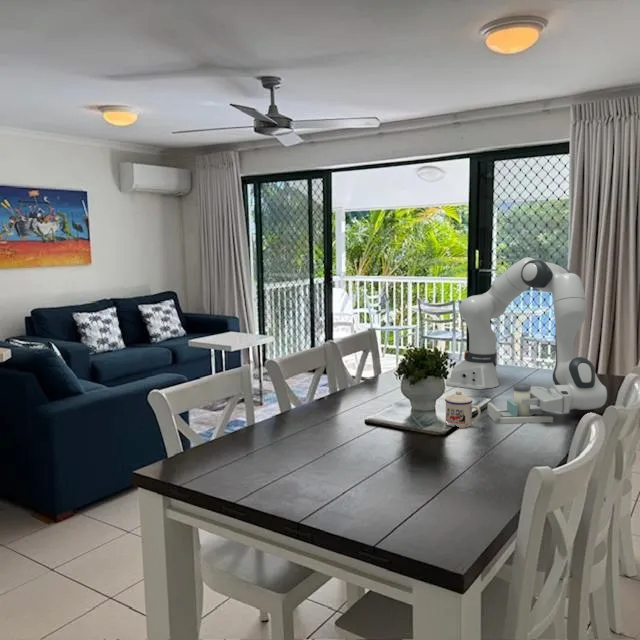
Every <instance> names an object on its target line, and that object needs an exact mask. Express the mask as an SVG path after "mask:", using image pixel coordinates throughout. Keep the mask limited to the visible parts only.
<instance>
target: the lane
mask: <svg viewBox="0 0 640 640" xmlns="http://www.w3.org/2000/svg"><path fill="white" fill-rule="evenodd" d="M501 412H507V408H504V409H502V408H501V409H500V408H498V407H497V406H496V405H494V404H493V403H492V402H487V415H489V416H490V417H491V418H492V419H493V422H494V423H495V424H497V423H512V424H527V423H526V422H551V423H554V417H553V416H552V415H545V416H544V415H543V410H542V409H540V408H539V407H537V408H530V414H541V415H542V416H541V415H537V416H535V415H533V416H530V417H501ZM489 416H488V417H489ZM490 417H489V418H490Z"/></svg>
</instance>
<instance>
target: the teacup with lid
mask: <svg viewBox="0 0 640 640" xmlns="http://www.w3.org/2000/svg"><path fill="white" fill-rule="evenodd" d="M444 401H445V422H446V421H447V422H448V423H452V424H455V425H456V426H457V427H459V428H458V429H466V428H465V427H467V428H469V426H470V427H471V426H472V421H476V420H478V419H479V418H480V416H481V408H480V407H479V406H477V405H474V404H473V399H472V397H470V396H469V395H466V394H464V393H463V392H462V390H456V391H455V393H452V395H448V396H446V397H445V399H444ZM473 409H476V411H477V415H476V416H475V417H472V414H473V413H472V410H473Z"/></svg>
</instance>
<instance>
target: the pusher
mask: <svg viewBox="0 0 640 640" xmlns="http://www.w3.org/2000/svg"><path fill="white" fill-rule="evenodd" d="M506 409H507V412H501V417H517V414H518V405H517V404H515V403H514V400H511V399H507V400H506Z"/></svg>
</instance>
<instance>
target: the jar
mask: <svg viewBox="0 0 640 640" xmlns="http://www.w3.org/2000/svg"><path fill="white" fill-rule="evenodd" d="M531 387H532V385H531V384H530V383H523V382H518V383H517V382H516V383H513V386H512V390H513V402H514V403H515V404H517V405H518V414H517V417H531V415H530V409H531V405H529V404H523V403H522V399H523V398H528V399H530V390H531Z"/></svg>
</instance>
